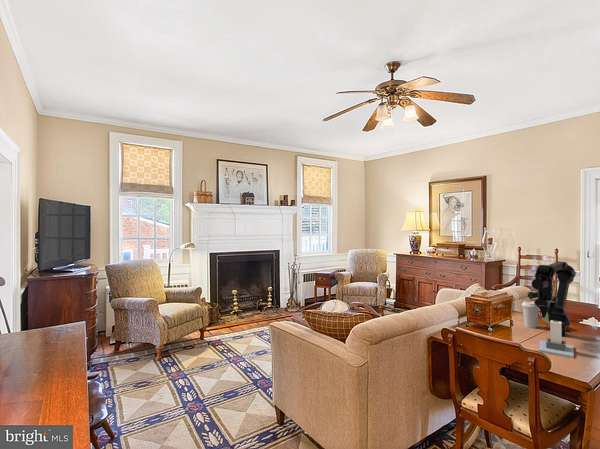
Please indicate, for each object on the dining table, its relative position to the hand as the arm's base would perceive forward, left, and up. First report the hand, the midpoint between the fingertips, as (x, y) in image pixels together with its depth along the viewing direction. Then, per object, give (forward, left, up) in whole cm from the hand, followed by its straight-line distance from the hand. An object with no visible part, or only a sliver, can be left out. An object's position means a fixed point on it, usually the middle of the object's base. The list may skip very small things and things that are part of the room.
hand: (546, 316), depth 192 cm
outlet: (+14, +8, -13) cm, 21 cm away
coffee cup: (-21, -14, -13) cm, 29 cm away
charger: (+14, +8, -12) cm, 20 cm away
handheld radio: (-34, -5, -14) cm, 37 cm away
